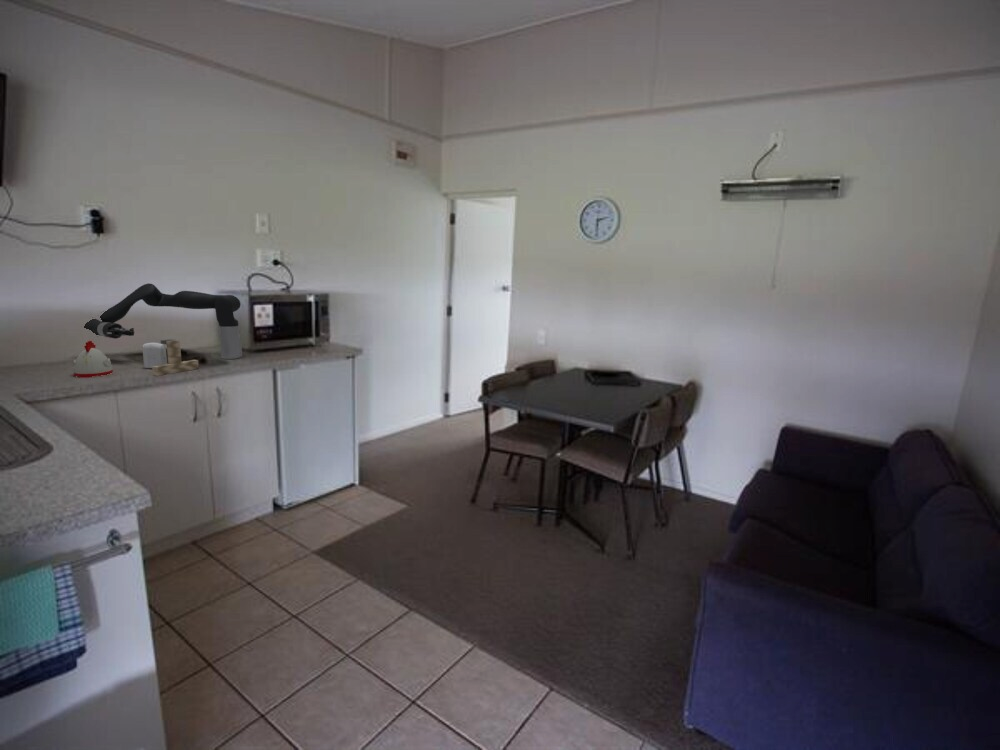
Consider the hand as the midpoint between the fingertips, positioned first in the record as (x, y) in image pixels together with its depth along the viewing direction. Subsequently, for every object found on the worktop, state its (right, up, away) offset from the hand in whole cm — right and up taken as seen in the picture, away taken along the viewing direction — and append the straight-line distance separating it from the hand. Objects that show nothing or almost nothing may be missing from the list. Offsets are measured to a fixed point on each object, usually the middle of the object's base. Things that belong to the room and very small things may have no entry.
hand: (132, 333), depth 254 cm
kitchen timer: (-4, -20, -19) cm, 28 cm away
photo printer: (+14, -17, -3) cm, 22 cm away
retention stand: (+25, -18, -8) cm, 32 cm away
